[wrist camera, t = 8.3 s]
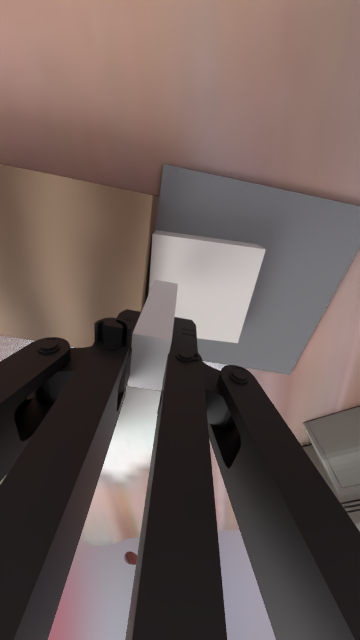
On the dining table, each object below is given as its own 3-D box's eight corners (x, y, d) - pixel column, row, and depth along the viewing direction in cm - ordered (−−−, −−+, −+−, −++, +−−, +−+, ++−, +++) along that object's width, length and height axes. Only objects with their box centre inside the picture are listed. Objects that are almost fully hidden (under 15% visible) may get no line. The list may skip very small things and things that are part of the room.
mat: (141, 348, 23) (141, 350, 23) (163, 164, 16) (163, 163, 15) (288, 372, 24) (289, 374, 24) (375, 210, 16) (379, 210, 16)
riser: (-45, 300, 21) (-92, 320, 17) (-97, 143, 15) (-181, 126, 12) (143, 332, 22) (135, 356, 19) (160, 196, 16) (152, 195, 13)
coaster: (150, 320, 21) (146, 332, 19) (156, 230, 17) (152, 233, 15) (233, 330, 21) (237, 343, 19) (257, 244, 17) (265, 249, 16)
